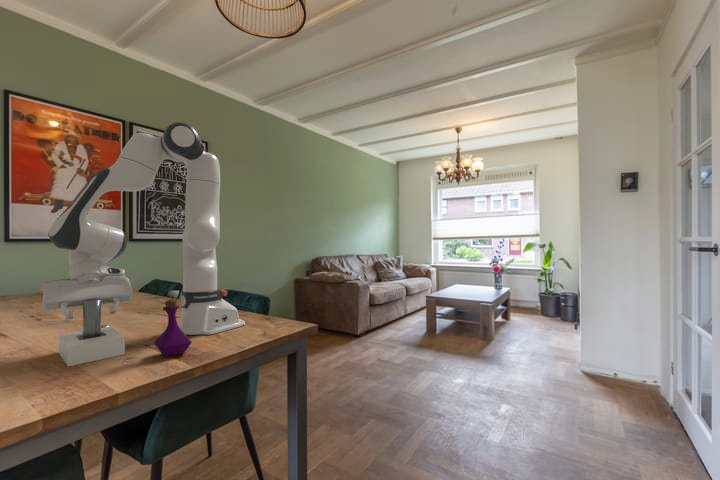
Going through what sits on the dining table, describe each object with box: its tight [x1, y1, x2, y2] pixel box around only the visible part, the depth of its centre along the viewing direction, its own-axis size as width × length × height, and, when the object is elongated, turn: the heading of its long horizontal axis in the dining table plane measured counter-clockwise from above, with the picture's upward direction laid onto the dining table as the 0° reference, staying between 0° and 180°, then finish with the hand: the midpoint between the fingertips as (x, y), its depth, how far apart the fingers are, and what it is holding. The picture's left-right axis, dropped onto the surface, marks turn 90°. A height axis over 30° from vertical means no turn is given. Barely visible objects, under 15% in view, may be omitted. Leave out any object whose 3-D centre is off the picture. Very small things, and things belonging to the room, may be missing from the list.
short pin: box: [101, 324, 112, 328], centre depth 105 cm, size 4×4×4 cm
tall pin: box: [82, 299, 102, 340], centre depth 93 cm, size 4×4×15 cm
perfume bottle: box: [153, 290, 192, 358], centre depth 92 cm, size 8×8×18 cm
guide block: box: [58, 326, 126, 367], centre depth 93 cm, size 12×16×5 cm
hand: (91, 315), depth 92 cm, fingers open, 8 cm apart
